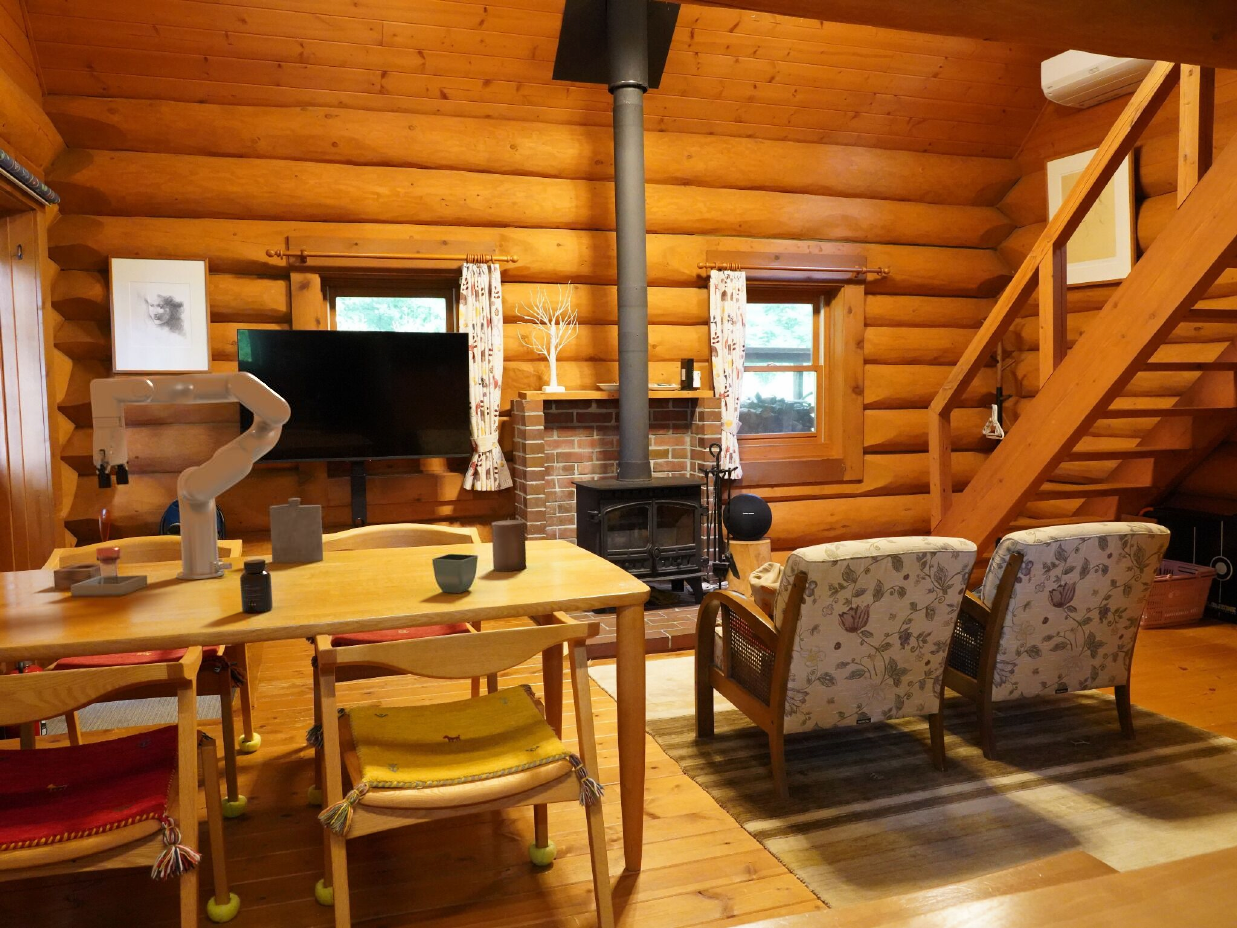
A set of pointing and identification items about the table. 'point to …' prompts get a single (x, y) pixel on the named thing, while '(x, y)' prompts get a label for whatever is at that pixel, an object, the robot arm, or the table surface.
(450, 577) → the flower pot
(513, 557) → the pillar candle
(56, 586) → the block
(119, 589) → the tray
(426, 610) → the table surface
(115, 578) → the pin
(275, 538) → the hip flask
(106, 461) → the robot arm
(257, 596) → the supplement bottle
